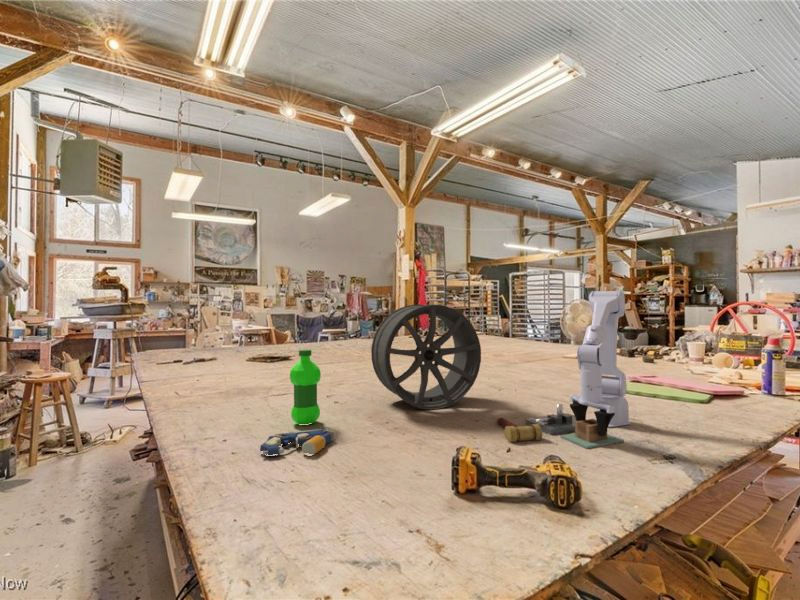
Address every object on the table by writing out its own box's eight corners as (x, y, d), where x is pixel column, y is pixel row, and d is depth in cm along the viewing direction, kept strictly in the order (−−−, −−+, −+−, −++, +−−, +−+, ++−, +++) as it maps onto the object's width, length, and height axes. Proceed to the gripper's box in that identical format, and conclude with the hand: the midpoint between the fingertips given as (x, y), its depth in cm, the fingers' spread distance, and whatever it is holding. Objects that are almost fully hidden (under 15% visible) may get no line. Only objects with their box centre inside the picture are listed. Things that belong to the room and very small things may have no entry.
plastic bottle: (283, 426, 135) (283, 351, 135) (302, 417, 145) (302, 347, 145) (309, 429, 131) (308, 352, 131) (326, 420, 141) (326, 348, 141)
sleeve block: (593, 433, 123) (592, 418, 123) (607, 439, 118) (607, 423, 118) (575, 436, 120) (575, 421, 120) (589, 442, 116) (588, 426, 116)
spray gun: (340, 454, 110) (333, 437, 125) (339, 439, 110) (332, 424, 125) (259, 465, 104) (261, 446, 119) (258, 449, 104) (261, 432, 119)
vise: (567, 417, 142) (567, 397, 142) (595, 427, 130) (595, 406, 130) (524, 424, 135) (523, 403, 135) (549, 435, 124) (549, 412, 124)
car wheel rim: (385, 414, 148) (384, 305, 148) (371, 402, 166) (370, 304, 166) (481, 404, 160) (480, 304, 161) (458, 394, 179) (457, 303, 179)
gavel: (483, 413, 137) (510, 411, 139) (483, 427, 137) (511, 425, 139) (510, 428, 117) (542, 426, 119) (511, 444, 117) (543, 442, 118)
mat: (596, 431, 126) (595, 429, 126) (623, 442, 117) (623, 439, 117) (560, 437, 121) (560, 435, 121) (586, 448, 112) (586, 446, 112)
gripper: (562, 381, 125) (562, 426, 125) (601, 391, 111) (601, 441, 111) (580, 380, 127) (580, 423, 127) (620, 389, 114) (620, 437, 114)
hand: (591, 431), depth 119 cm, fingers open, 7 cm apart
